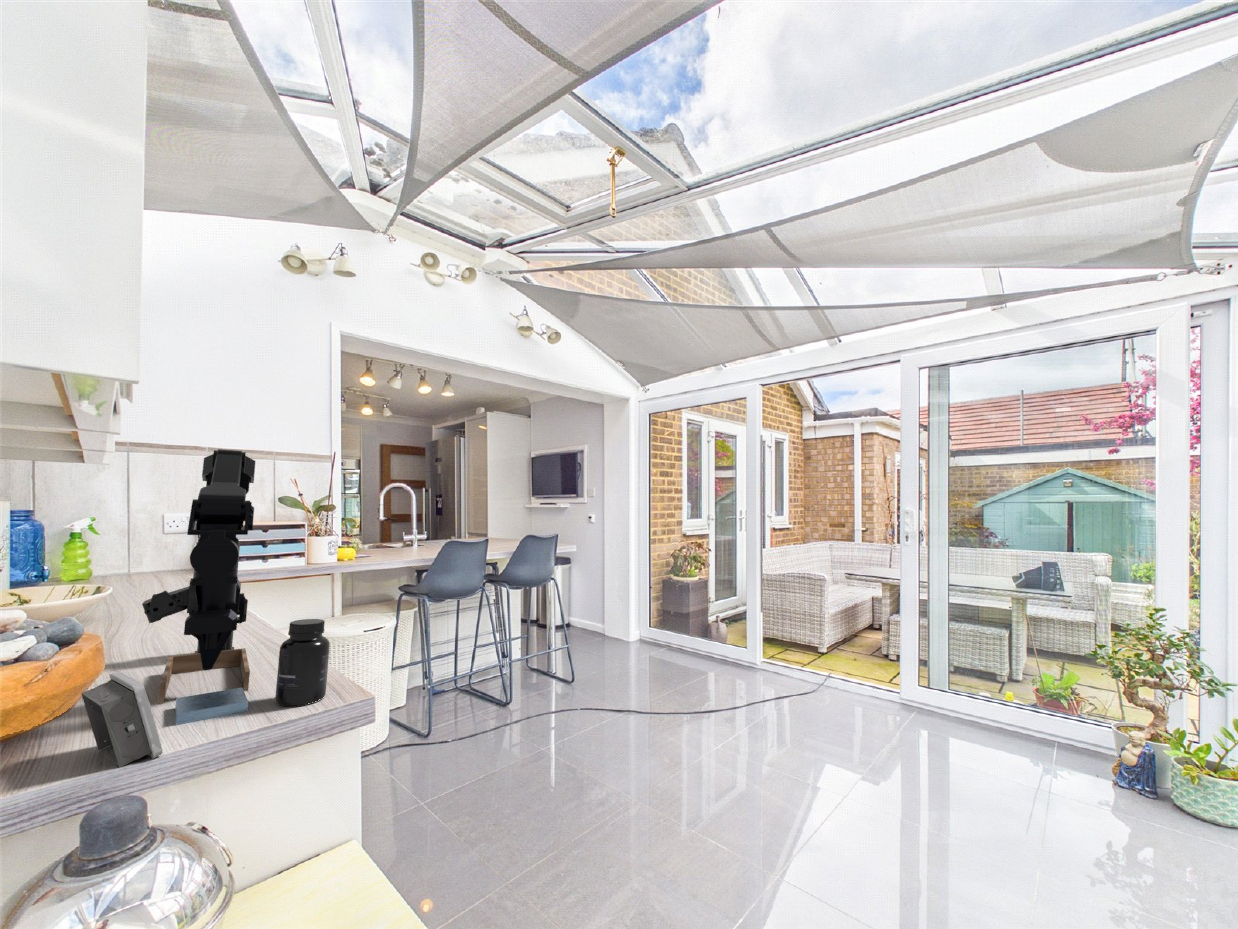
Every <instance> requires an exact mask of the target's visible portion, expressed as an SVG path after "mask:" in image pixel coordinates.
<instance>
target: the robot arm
mask: <svg viewBox="0 0 1238 929" xmlns="http://www.w3.org/2000/svg"><path fill="white" fill-rule="evenodd" d="M246 453H247V452H246V451H242V450H236V449H214V450H213V454H211V455H208V456H206V457H205V456H204V458H203V462H202V464H203V465H202V472H201V473H202V474H201V479H202V482H206V483H205V484H206V486H203V487H201V488H200V490H199V493H198V497H197V498H193V499H192V503H191V507H190V508H191V509H190V514H189V520H188V525H187V526H188V527H187V532H186V534H187V536H199V539H198V540H197V541H196V545H195V546H194V547H193V549H192V550H191V552H190V555H189V562H190V565H191V568H192V569H193V577H192V578H190V580H189V586H185V587H182V588H179V589H175V590H173V591H170V592H168V591H167V590H163V591H161V592H159V593H154V594H152V596H151V598H149V599H146V600H144V601H143V602H142V603H141V605H142V608H143V610H144V611H143V613H144V614H145V616H146V617H147V621H148V623H149V624H152V623H156V622H158V621H161V620H162V619H164V618H167V617H169V616H172V615H175V614H178V613H180V612H183V611H185V610H186V614H188V616H187V617H186V619H185V621H184V629H183V635H184V636H192V637H194V638H195V639H196V640H197V649H196V650H195V651H194V653H193V654H198V653H200V655H201V661H202V667H203V670H202V671H205V672H206V671H210V670H213V669H212V668H213V666H214V664H215V662H216V660H217V658H218V656H219V654H220V653H221V651H225V650H234V649H235V647H234V646H233V642H234V631H237V628H238V624H242V623H244V622H247V614H248V602H249V600H248V598H246V596H245V592H244V593H243V592H242V593H241V588H242V587H241V586H242V584H241V581H240V580H239V578H238V572H239V560H240V548H241V541H240V540H239V538H238V537H237V536H238V535H239V536H240V535H242V536H244V535H245V536H246V535H247V536H248V535H249V531H253V529H254V527H253V526H254V515H255V513H254V512H255V507H254V506H253V505H252V503H253V502H252V501H251V500H246V497H247V494H248V493H249V490H250V484H254V482H255V472H256V460H254V459H252V457H249V456H248V455H247V454H246ZM195 525H196V527H195ZM242 528H243V529H242Z"/></svg>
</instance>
